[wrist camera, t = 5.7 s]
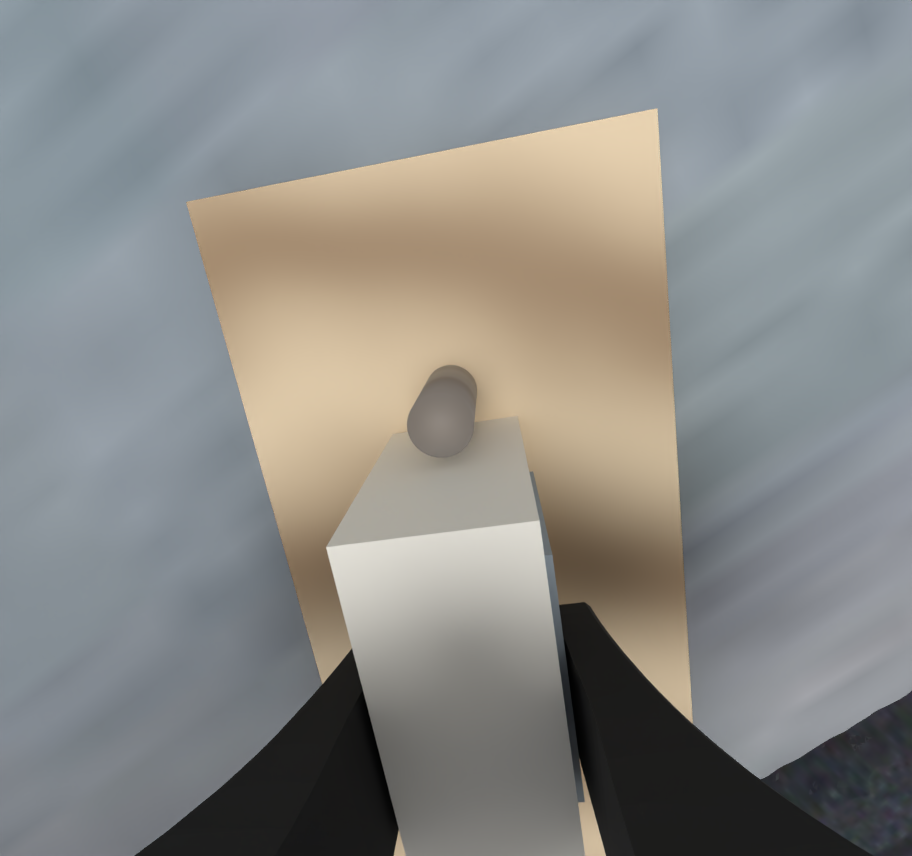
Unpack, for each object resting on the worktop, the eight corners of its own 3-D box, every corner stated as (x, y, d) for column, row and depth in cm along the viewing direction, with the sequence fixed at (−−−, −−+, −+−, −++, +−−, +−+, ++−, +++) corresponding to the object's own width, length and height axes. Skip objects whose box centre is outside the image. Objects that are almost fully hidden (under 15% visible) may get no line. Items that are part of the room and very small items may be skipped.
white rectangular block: (557, 663, 14) (599, 891, 9) (442, 675, 15) (417, 902, 9) (524, 415, 12) (550, 519, 7) (392, 433, 13) (325, 547, 7)
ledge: (685, 812, 17) (747, 980, 13) (382, 833, 18) (352, 995, 14) (640, 125, 12) (721, 46, 8) (213, 208, 13) (85, 178, 9)
